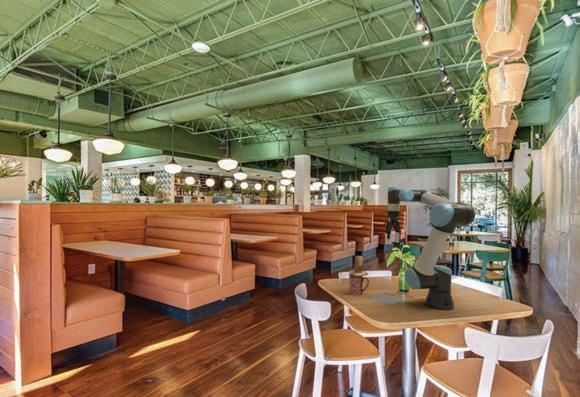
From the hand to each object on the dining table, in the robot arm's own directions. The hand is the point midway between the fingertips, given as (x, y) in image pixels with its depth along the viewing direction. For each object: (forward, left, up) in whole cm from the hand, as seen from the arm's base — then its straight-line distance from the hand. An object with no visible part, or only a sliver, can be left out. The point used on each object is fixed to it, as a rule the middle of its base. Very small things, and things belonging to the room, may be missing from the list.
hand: (392, 243), depth 208 cm
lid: (+15, +18, -19) cm, 30 cm away
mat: (-2, +15, -33) cm, 36 cm away
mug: (+15, +18, -33) cm, 40 cm away
